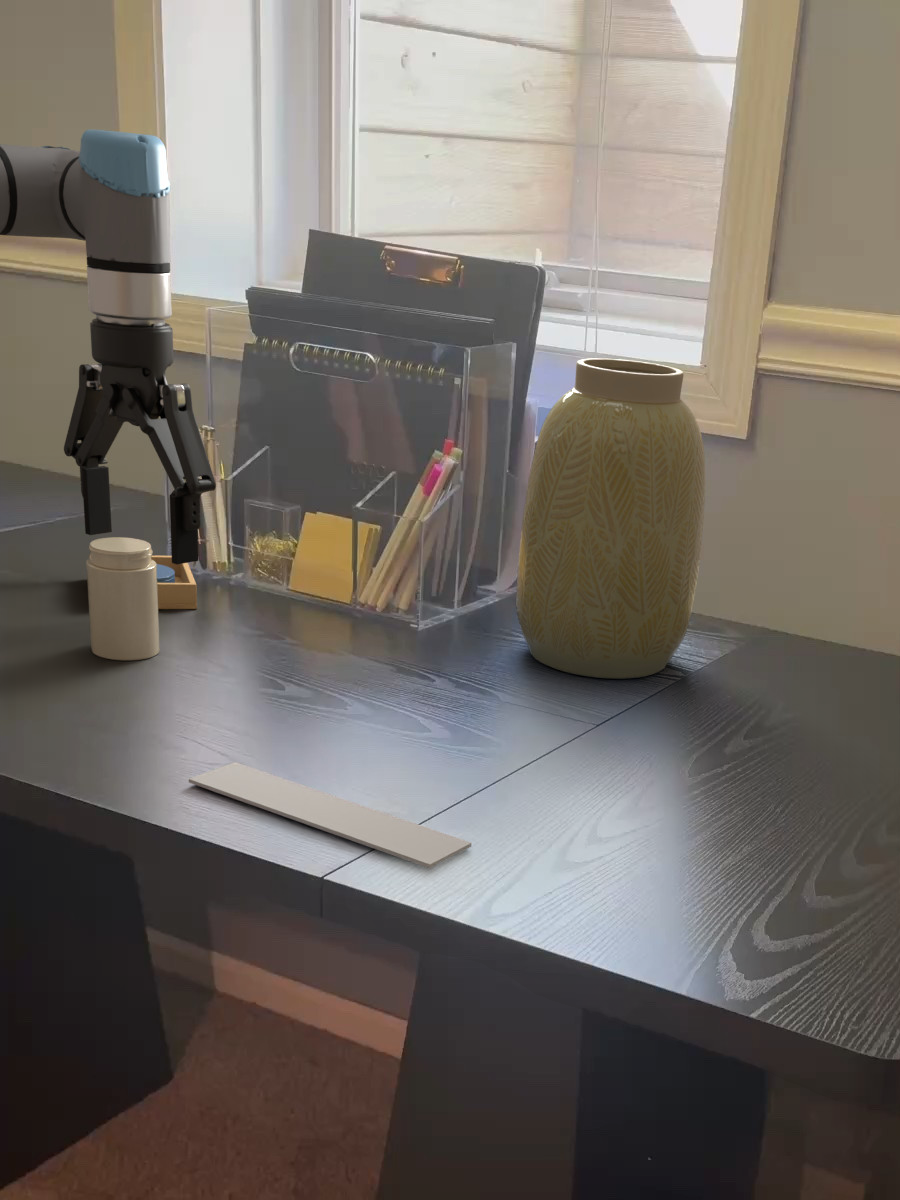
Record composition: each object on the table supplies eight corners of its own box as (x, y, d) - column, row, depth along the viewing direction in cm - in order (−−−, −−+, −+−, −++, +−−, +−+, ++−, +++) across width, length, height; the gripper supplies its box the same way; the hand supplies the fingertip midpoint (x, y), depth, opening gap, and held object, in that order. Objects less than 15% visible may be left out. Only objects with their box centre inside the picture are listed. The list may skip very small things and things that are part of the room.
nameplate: (235, 766, 111) (188, 783, 107) (235, 761, 111) (188, 778, 107) (471, 847, 102) (429, 869, 98) (471, 842, 102) (430, 864, 98)
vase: (568, 693, 134) (600, 380, 121) (479, 638, 146) (500, 349, 133) (719, 678, 142) (764, 383, 129) (622, 627, 155) (655, 354, 142)
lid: (96, 585, 149) (95, 567, 148) (148, 577, 154) (147, 559, 153) (135, 600, 146) (135, 582, 145) (188, 591, 150) (187, 573, 149)
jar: (77, 648, 133) (70, 541, 128) (131, 636, 137) (126, 533, 133) (119, 664, 130) (114, 556, 125) (173, 652, 134) (170, 547, 129)
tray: (90, 578, 153) (89, 554, 152) (185, 579, 156) (185, 555, 155) (96, 609, 144) (95, 583, 143) (197, 609, 147) (196, 584, 146)
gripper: (251, 337, 134) (253, 569, 144) (82, 301, 147) (94, 517, 157) (187, 339, 128) (193, 580, 139) (17, 302, 141) (34, 525, 151)
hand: (140, 547), depth 148 cm, fingers open, 13 cm apart
